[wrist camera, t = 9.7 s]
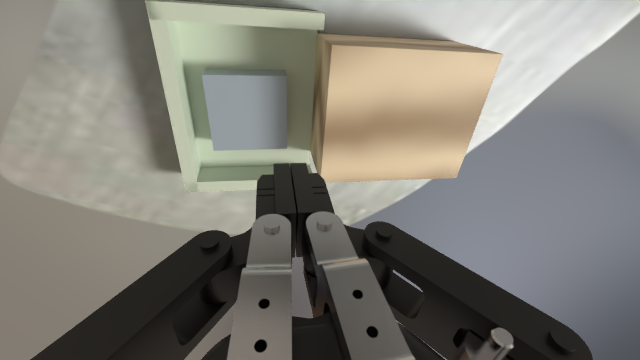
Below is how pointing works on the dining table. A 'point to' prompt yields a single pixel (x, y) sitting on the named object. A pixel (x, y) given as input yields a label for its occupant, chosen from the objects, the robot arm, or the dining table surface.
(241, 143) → the tile
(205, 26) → the tray
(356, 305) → the robot arm
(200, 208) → the dining table surface
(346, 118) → the cardboard box
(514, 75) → the dining table surface
